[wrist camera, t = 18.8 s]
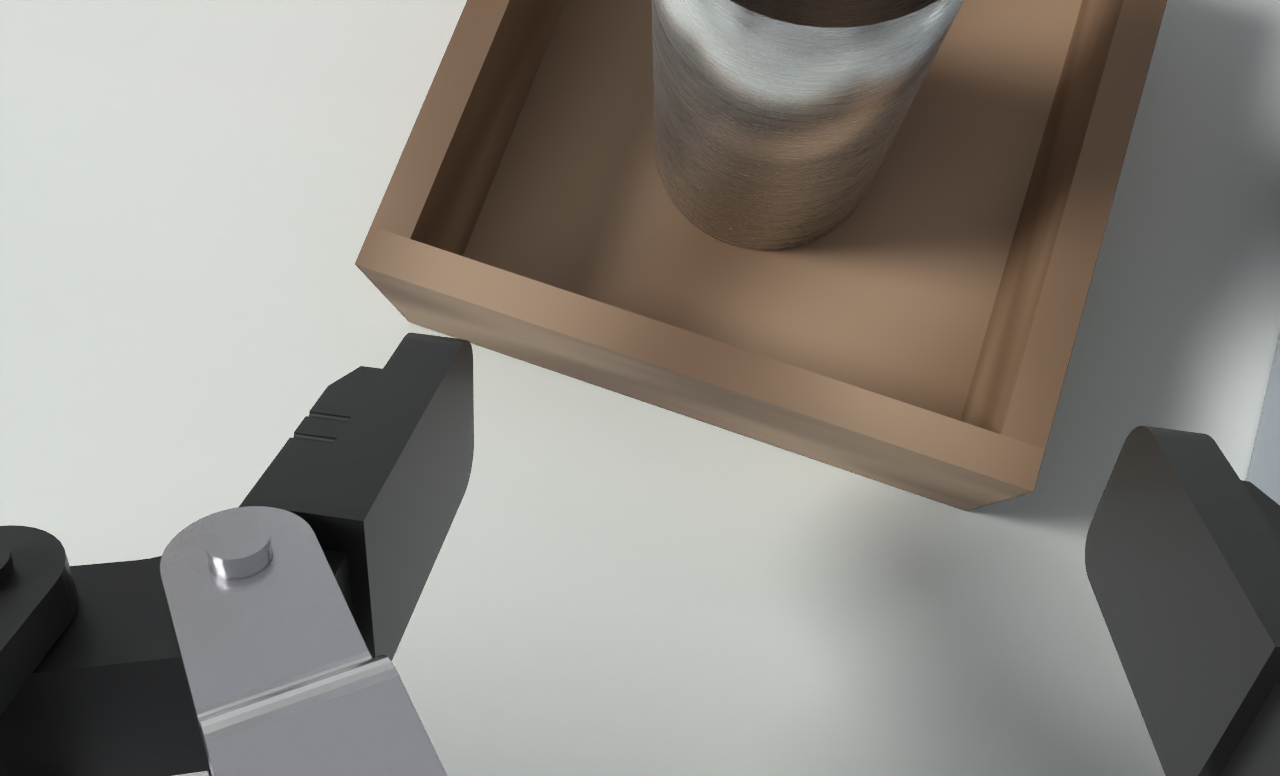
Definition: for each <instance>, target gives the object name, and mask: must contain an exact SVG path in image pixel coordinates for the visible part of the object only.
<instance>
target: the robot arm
mask: <svg viewBox="0 0 1280 776" xmlns="http://www.w3.org/2000/svg"><path fill="white" fill-rule="evenodd" d="M473 450H474V415H473V353H472V347H471V344H470V342H469V341H468V340H463V339H455V338H448V337H440V336H432V335H425V334H417V333H408V334H407V335H406V336H405V337H404V338H403V340H402V341H401V343H400V344H399V346H398V347H397V349H396V350H395V352H394V353H393V355H392V356H391V358H390V359H389V361H388V362H387V364H386V365H385V367H384V368H383V369H379V368H371V367H364V366H361V367H359V368H357V369H356V370H354V371H352V372H351V373H349V374H347V375H346V376H344V377H342V378H341V379H339V380H337V381H336V382H334V383H333V384H331V385H329V386H328V387H327V388H326V390H325V391H324V393H323V394H322V395H321V397H320V398H319V399H318V401H317V402H316V403H315V405H314V406H313V407H312V409H311V410H310V414H309V417H307V416H306V417H305V418H304V420H303V421H302V422H301V424H300V425H299V426H298V428H297V429H296V430H295V432H294V437H293V438H290V439H289V440H288V441H287V443H286V444H285V445H284V447H283V448H282V449H281V451H280V452H279V453H278V455H277V456H276V458H275V459H274V460H273V462H272V463H271V464H270V466H269V467H268V468H267V470H266V471H265V472H264V474H263V475H262V476H261V478H260V479H259V481H258V482H257V483H256V485H255V486H254V487H253V489H252V490H251V491H250V493H249V494H248V495H247V497H246V498H245V499H244V501H243V502H242V504H241V505H240V506H239V507H238V508H233V509H228V510H224V511H220V512H217V513H214V514H211V515H209V516H206V517H204V518H202V519H200V520H198V521H196V522H194V523H192V524H191V525H189V526H188V527H186V528H185V529H183V530H182V531H181V532H179V533H178V534H177V535H176V536H175V537H174V538H173V539H172V540H171V542H170V543H169V544H168V546H167V547H166V548H165V550H164V553H163V555H162V556H159V557H155V558H151V559H143V560H136V561H125V562H114V563H103V564H92V565H80V566H69V563H68V560H67V556H66V553H65V550H64V548H63V546H62V544H61V542H60V541H59V540H58V539H57V538H55V537H54V536H53V535H51V534H49V533H47V532H46V531H43V530H40V529H37V528H32V527H26V526H0V776H172V775H179V774H186V773H194V772H201V771H208V775H209V776H447V775H446V772H445V770H444V768H443V766H442V764H441V762H440V760H439V758H438V756H437V754H436V752H435V749H434V747H433V745H432V743H431V741H430V739H429V737H428V735H427V733H426V731H425V729H424V726H423V724H422V722H421V720H420V718H419V716H418V714H417V712H416V710H415V708H414V706H413V703H412V701H411V699H410V697H409V695H408V693H407V691H406V689H405V687H404V685H403V683H402V680H401V678H400V676H399V674H398V672H397V670H396V668H395V667H394V665H393V663H392V662H391V661H392V659H393V657H394V654H395V652H396V650H397V647H398V645H399V643H400V641H401V638H402V636H403V634H404V631H405V629H406V627H407V625H408V622H409V620H410V618H411V615H412V613H413V611H414V608H415V606H416V604H417V602H418V599H419V597H420V595H421V592H422V590H423V588H424V586H425V583H426V581H427V579H428V576H429V574H430V572H431V570H432V567H433V565H434V563H435V560H436V558H437V556H438V553H439V551H440V549H441V547H442V544H443V542H444V540H445V537H446V535H447V533H448V531H449V528H450V526H451V524H452V521H453V519H454V517H455V514H456V512H457V510H458V508H459V505H460V503H461V501H462V498H463V496H464V494H465V491H466V488H467V485H468V481H469V477H470V473H471V467H472V460H473ZM1085 564H1086V571H1087V575H1088V578H1089V581H1090V584H1091V586H1092V589H1093V591H1094V594H1095V596H1096V599H1097V602H1098V604H1099V607H1100V609H1101V612H1102V614H1103V617H1104V619H1105V622H1106V625H1107V627H1108V630H1109V632H1110V635H1111V637H1112V640H1113V642H1114V645H1115V647H1116V650H1117V653H1118V655H1119V658H1120V660H1121V663H1122V665H1123V668H1124V670H1125V673H1126V676H1127V678H1128V681H1129V683H1130V686H1131V688H1132V691H1133V693H1134V696H1135V698H1136V701H1137V704H1138V706H1139V709H1140V711H1141V714H1142V716H1143V719H1144V721H1145V724H1146V727H1147V729H1148V732H1149V734H1150V737H1151V739H1152V742H1153V744H1154V747H1155V749H1156V752H1157V755H1158V757H1159V760H1160V762H1161V765H1162V767H1163V770H1164V772H1165V775H1166V776H1280V505H1279V504H1277V503H1276V502H1275V501H1274V500H1272V499H1271V498H1270V497H1269V496H1267V495H1266V494H1265V493H1264V492H1262V491H1261V490H1260V489H1259V488H1257V487H1256V486H1255V485H1254V484H1252V483H1251V482H1249V481H1242V480H1240V479H1239V477H1238V476H1237V474H1236V473H1235V471H1234V470H1233V468H1232V467H1231V465H1230V464H1229V462H1228V461H1227V459H1226V458H1225V456H1224V455H1223V453H1222V452H1221V450H1220V449H1219V447H1218V446H1217V444H1216V442H1215V441H1214V440H1213V439H1212V438H1211V437H1210V436H1209V435H1206V434H1201V433H1194V432H1186V431H1178V430H1171V429H1163V428H1155V427H1147V426H1139V427H1136V428H1135V429H1134V430H1133V431H1132V432H1131V433H1130V434H1129V436H1128V437H1127V439H1126V441H1125V443H1124V445H1123V447H1122V450H1121V452H1120V455H1119V457H1118V459H1117V462H1116V464H1115V467H1114V469H1113V471H1112V474H1111V476H1110V479H1109V481H1108V483H1107V486H1106V488H1105V490H1104V493H1103V495H1102V498H1101V500H1100V502H1099V505H1098V507H1097V510H1096V512H1095V514H1094V517H1093V519H1092V522H1091V524H1090V527H1089V530H1088V534H1087V539H1086V547H1085Z"/></svg>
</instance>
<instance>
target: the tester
mask: <svg viewBox="0 0 1280 776" xmlns="http://www.w3.org/2000/svg"><path fill="white" fill-rule="evenodd" d="M1246 481H1249V482H1251V483H1252V484H1254V485H1255V486H1256V487H1257V488H1259V489H1260V490H1261V491H1262V492H1264V493H1265V494H1266V495H1267V496H1269V497H1270V498H1271V499H1272V500H1274V501H1275V502H1276V503H1277V504H1279V505H1280V335H1279V339H1278V344H1277V348H1276V352H1275V357H1274V361H1273V366H1272V370H1271V374H1270V379H1269V383H1268V387H1267V392H1266V396H1265V400H1264V405H1263V409H1262V413H1261V418H1260V422H1259V427H1258V431H1257V435H1256V440H1255V444H1254V448H1253V453H1252V457H1251V461H1250V466H1249V470H1248V474H1247V479H1246Z"/></svg>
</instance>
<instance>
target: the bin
mask: <svg viewBox="0 0 1280 776" xmlns="http://www.w3.org/2000/svg"><path fill="white" fill-rule="evenodd" d="M1166 2H1167V0H964V1H963V3H962V5H961V7H960V9H959V11H958V13H957V15H956V17H955V19H954V21H953V23H952V25H951V27H950V29H949V31H948V33H947V35H946V37H945V39H944V41H943V43H942V45H941V46H940V48H939V50H938V52H937V54H936V56H935V58H934V60H933V62H932V64H931V66H930V68H929V70H928V72H927V74H926V76H925V78H924V80H923V82H922V84H921V86H920V88H919V90H918V92H917V94H916V96H915V98H914V100H913V102H912V104H911V106H910V108H909V110H908V112H907V114H906V116H905V118H904V120H903V122H902V124H901V126H900V128H899V130H898V132H897V134H896V136H895V138H894V140H893V142H892V144H891V146H890V148H889V150H888V152H887V154H886V156H885V158H884V160H883V161H882V163H881V165H880V167H879V169H878V171H877V173H876V175H875V177H874V179H873V181H872V183H871V185H870V187H869V189H868V191H867V193H866V195H865V196H864V198H863V200H862V202H861V203H860V205H859V206H858V207H857V209H856V210H855V211H854V212H853V214H852V215H851V216H850V217H849V218H848V219H847V220H846V221H845V222H844V223H843V224H842V225H840V226H839V227H838V228H836V229H835V230H833V231H832V232H831V233H829V234H827V235H826V236H824V237H822V238H820V239H818V240H816V241H814V242H811V243H809V244H806V245H803V246H799V247H795V248H791V249H785V250H777V251H758V250H750V249H743V248H739V247H736V246H732V245H729V244H726V243H724V242H721V241H719V240H716V239H714V238H713V237H711V236H709V235H707V234H705V233H704V232H702V231H701V230H699V229H698V228H697V227H695V226H694V225H693V224H692V223H690V222H689V221H688V220H687V219H686V218H685V217H684V216H683V215H682V214H681V213H680V211H679V210H678V209H677V208H676V206H675V205H674V204H673V203H672V201H671V199H670V198H669V196H668V194H667V193H666V191H665V188H664V186H663V184H662V182H661V179H660V176H659V172H658V169H657V164H656V157H655V131H654V85H653V39H652V0H467V2H466V5H465V7H464V9H463V12H462V14H461V16H460V19H459V21H458V23H457V26H456V28H455V30H454V33H453V35H452V38H451V40H450V42H449V45H448V47H447V49H446V52H445V54H444V56H443V59H442V61H441V63H440V66H439V68H438V70H437V73H436V75H435V77H434V80H433V82H432V84H431V87H430V89H429V91H428V94H427V96H426V98H425V101H424V103H423V106H422V108H421V110H420V113H419V115H418V117H417V120H416V122H415V124H414V127H413V129H412V131H411V134H410V136H409V138H408V141H407V143H406V145H405V148H404V150H403V152H402V155H401V157H400V159H399V162H398V164H397V166H396V169H395V171H394V174H393V176H392V178H391V181H390V183H389V185H388V188H387V190H386V192H385V195H384V197H383V199H382V202H381V204H380V206H379V209H378V211H377V213H376V216H375V218H374V220H373V223H372V225H371V227H370V230H369V232H368V234H367V237H366V239H365V241H364V244H363V246H362V249H361V251H360V253H359V256H358V258H357V260H356V263H355V265H356V266H357V267H358V268H359V269H360V270H361V271H362V272H363V273H364V274H365V275H366V276H367V278H368V279H369V280H370V281H371V282H372V283H373V284H374V285H375V286H376V287H377V288H378V289H379V290H380V291H381V293H382V294H383V295H384V296H385V297H386V298H387V299H388V300H389V301H390V302H391V303H392V304H393V305H394V306H395V307H396V309H397V310H398V311H399V312H400V313H401V314H402V315H403V316H404V317H405V318H406V319H407V320H408V321H409V322H411V323H414V324H417V325H420V326H423V327H426V328H429V329H432V330H435V331H437V332H440V333H443V334H446V335H449V336H452V337H455V338H458V339H463V340H468V341H469V342H470V343H473V344H476V345H479V346H482V347H485V348H488V349H491V350H493V351H496V352H499V353H502V354H505V355H508V356H511V357H514V358H517V359H520V360H523V361H526V362H529V363H532V364H535V365H538V366H541V367H544V368H547V369H549V370H552V371H555V372H558V373H561V374H564V375H567V376H570V377H573V378H576V379H579V380H582V381H585V382H588V383H591V384H594V385H597V386H600V387H602V388H605V389H608V390H611V391H614V392H617V393H620V394H623V395H626V396H629V397H632V398H635V399H638V400H641V401H644V402H647V403H650V404H653V405H656V406H658V407H661V408H664V409H667V410H670V411H673V412H676V413H679V414H682V415H685V416H688V417H691V418H694V419H697V420H700V421H703V422H706V423H709V424H712V425H714V426H717V427H720V428H723V429H726V430H729V431H732V432H735V433H738V434H741V435H744V436H747V437H750V438H753V439H756V440H759V441H762V442H765V443H768V444H770V445H773V446H776V447H779V448H782V449H785V450H788V451H791V452H794V453H797V454H800V455H803V456H806V457H809V458H812V459H815V460H818V461H821V462H824V463H826V464H829V465H832V466H835V467H838V468H841V469H844V470H847V471H850V472H853V473H856V474H859V475H862V476H865V477H868V478H871V479H874V480H877V481H880V482H882V483H885V484H888V485H891V486H894V487H897V488H900V489H903V490H906V491H909V492H912V493H915V494H918V495H921V496H924V497H927V498H930V499H933V500H936V501H938V502H941V503H944V504H947V505H950V506H953V507H956V508H959V509H962V510H965V511H967V510H971V509H974V508H978V507H981V506H985V505H988V504H992V503H995V502H999V501H1002V500H1006V499H1009V498H1013V497H1016V496H1020V495H1024V494H1027V493H1031V492H1034V489H1035V485H1036V481H1037V477H1038V474H1039V470H1040V466H1041V463H1042V459H1043V455H1044V452H1045V448H1046V444H1047V441H1048V437H1049V433H1050V430H1051V426H1052V422H1053V419H1054V415H1055V411H1056V407H1057V404H1058V400H1059V396H1060V393H1061V389H1062V385H1063V382H1064V378H1065V374H1066V371H1067V367H1068V363H1069V360H1070V356H1071V352H1072V349H1073V345H1074V341H1075V337H1076V334H1077V330H1078V326H1079V323H1080V319H1081V315H1082V312H1083V308H1084V304H1085V301H1086V297H1087V293H1088V290H1089V286H1090V282H1091V279H1092V275H1093V271H1094V267H1095V264H1096V260H1097V256H1098V253H1099V249H1100V245H1101V242H1102V238H1103V234H1104V231H1105V227H1106V223H1107V220H1108V216H1109V212H1110V209H1111V205H1112V201H1113V197H1114V194H1115V190H1116V186H1117V183H1118V179H1119V175H1120V172H1121V168H1122V164H1123V161H1124V157H1125V153H1126V150H1127V146H1128V142H1129V139H1130V135H1131V131H1132V127H1133V124H1134V120H1135V116H1136V113H1137V109H1138V105H1139V102H1140V98H1141V94H1142V91H1143V87H1144V83H1145V80H1146V76H1147V72H1148V69H1149V65H1150V61H1151V57H1152V54H1153V50H1154V46H1155V43H1156V39H1157V35H1158V32H1159V28H1160V24H1161V21H1162V17H1163V13H1164V10H1165V6H1166Z"/></svg>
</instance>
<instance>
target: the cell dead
mask: <svg viewBox="0 0 1280 776" xmlns="http://www.w3.org/2000/svg"><path fill="white" fill-rule="evenodd" d="M963 1H964V0H652V39H653V85H654V131H655V157H656V164H657V169H658V172H659V176H660V179H661V182H662V184H663V186H664V188H665V191H666V193H667V194H668V196H669V198H670V199H671V201H672V203H673V204H674V205H675V206H676V208H677V209H678V210H679V211H680V213H681V214H682V215H683V216H684V217H685V218H686V219H687V220H688V221H689V222H690V223H692V224H693V225H694V226H695V227H697V228H698V229H699V230H701V231H702V232H704V233H705V234H707V235H709V236H711V237H713V238H714V239H716V240H719V241H721V242H724V243H726V244H729V245H732V246H736V247H739V248H743V249H750V250H758V251H777V250H785V249H791V248H795V247H799V246H803V245H806V244H809V243H811V242H814V241H816V240H818V239H820V238H822V237H824V236H826V235H827V234H829V233H831V232H832V231H833V230H835V229H836V228H838V227H839V226H840V225H842V224H843V223H844V222H845V221H846V220H847V219H848V218H849V217H850V216H851V215H852V214H853V212H854V211H855V210H856V209H857V207H858V206H859V205H860V203H861V202H862V200H863V198H864V196H865V195H866V193H867V191H868V189H869V187H870V185H871V183H872V181H873V179H874V177H875V175H876V173H877V171H878V169H879V167H880V165H881V163H882V161H883V160H884V158H885V156H886V154H887V152H888V150H889V148H890V146H891V144H892V142H893V140H894V138H895V136H896V134H897V132H898V130H899V128H900V126H901V124H902V122H903V120H904V118H905V116H906V114H907V112H908V110H909V108H910V106H911V104H912V102H913V100H914V98H915V96H916V94H917V92H918V90H919V88H920V86H921V84H922V82H923V80H924V78H925V76H926V74H927V72H928V70H929V68H930V66H931V64H932V62H933V60H934V58H935V56H936V54H937V52H938V50H939V48H940V46H941V45H942V43H943V41H944V39H945V37H946V35H947V33H948V31H949V29H950V27H951V25H952V23H953V21H954V19H955V17H956V15H957V13H958V11H959V9H960V7H961V5H962V3H963Z"/></svg>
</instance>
